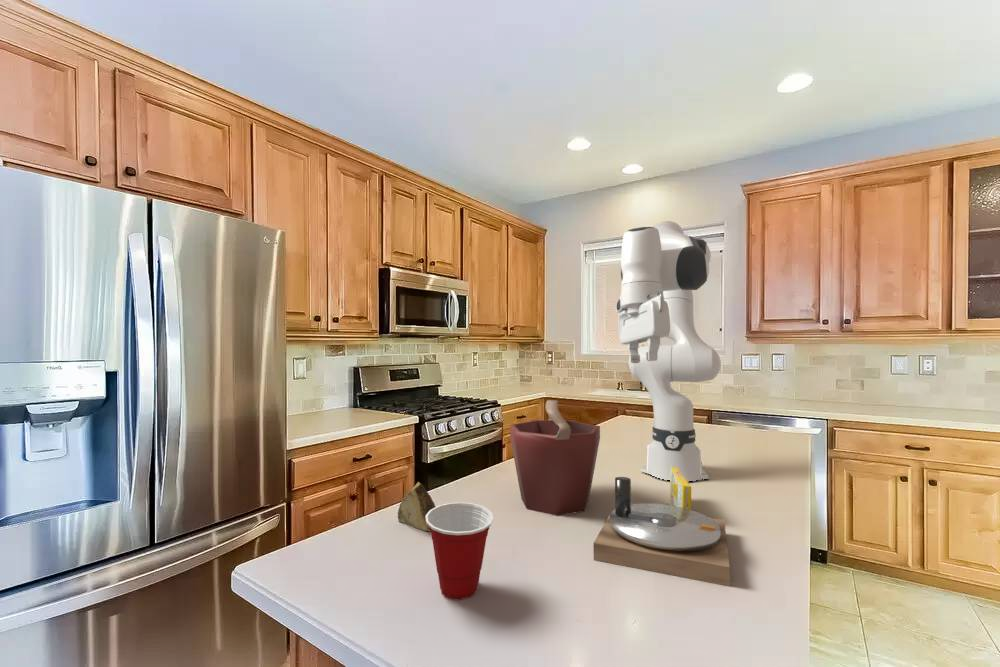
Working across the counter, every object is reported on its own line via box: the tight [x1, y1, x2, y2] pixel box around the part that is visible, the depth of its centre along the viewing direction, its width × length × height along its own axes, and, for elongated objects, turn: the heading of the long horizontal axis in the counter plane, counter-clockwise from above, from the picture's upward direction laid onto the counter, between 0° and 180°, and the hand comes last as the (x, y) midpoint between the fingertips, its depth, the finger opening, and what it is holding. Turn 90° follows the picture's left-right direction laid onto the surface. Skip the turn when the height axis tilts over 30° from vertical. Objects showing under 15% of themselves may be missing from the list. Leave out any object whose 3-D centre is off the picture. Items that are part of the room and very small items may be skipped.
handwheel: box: [609, 476, 721, 551], centre depth 88 cm, size 20×20×8 cm
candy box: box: [669, 467, 692, 510], centre depth 107 cm, size 16×2×8 cm, turn 168°
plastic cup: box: [425, 502, 494, 600], centre depth 72 cm, size 11×11×12 cm
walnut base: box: [593, 505, 731, 587], centre depth 88 cm, size 22×22×3 cm
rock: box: [397, 481, 436, 532], centre depth 99 cm, size 11×9×10 cm
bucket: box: [509, 399, 601, 516], centre depth 113 cm, size 24×22×25 cm
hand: (643, 362), depth 98 cm, fingers open, 8 cm apart
